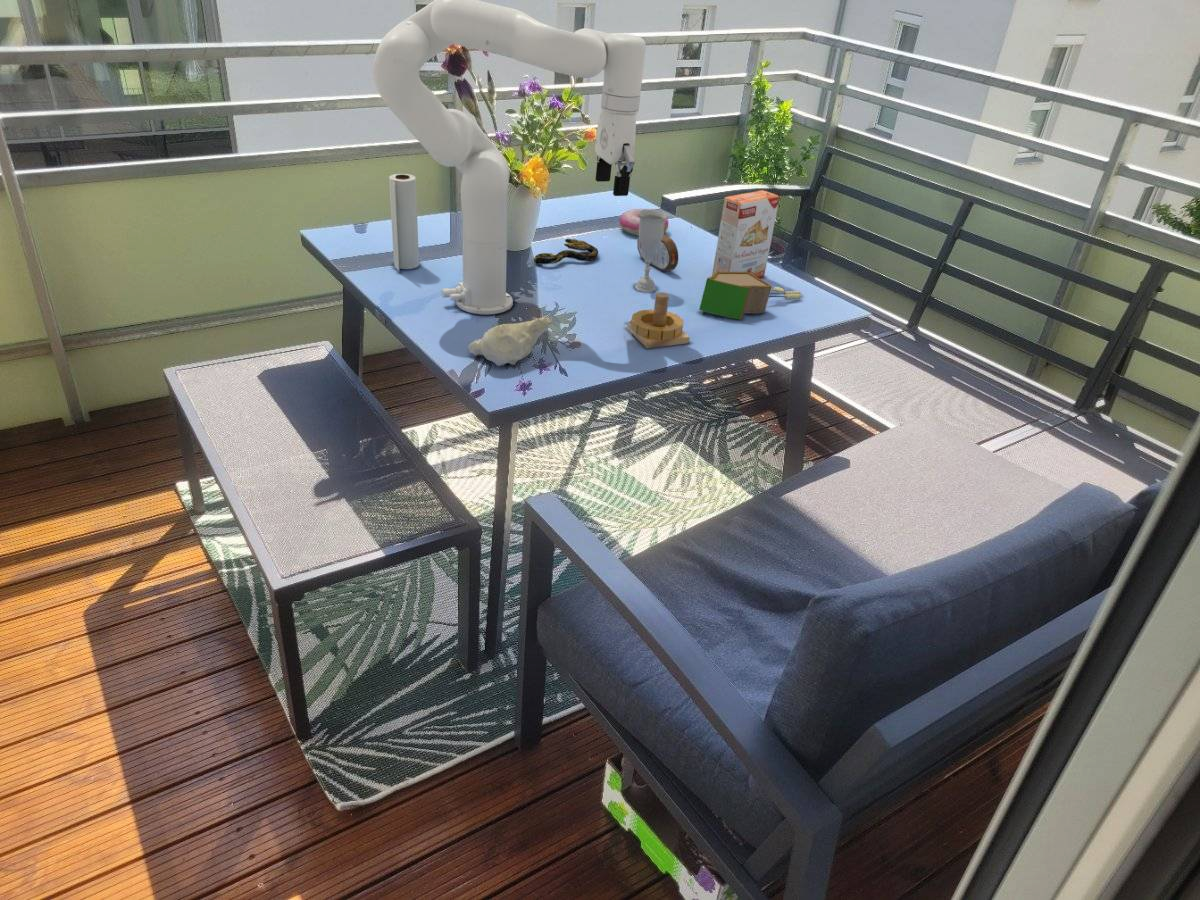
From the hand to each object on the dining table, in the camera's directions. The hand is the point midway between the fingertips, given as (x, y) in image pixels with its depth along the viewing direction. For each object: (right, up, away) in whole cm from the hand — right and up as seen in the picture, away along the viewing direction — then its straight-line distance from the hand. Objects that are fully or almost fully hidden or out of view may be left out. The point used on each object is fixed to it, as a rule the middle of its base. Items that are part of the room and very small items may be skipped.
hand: (611, 188), depth 190 cm
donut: (+10, +6, +62) cm, 63 cm away
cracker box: (+32, -12, +37) cm, 51 cm away
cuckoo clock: (+33, -21, +23) cm, 46 cm away
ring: (+10, -29, +5) cm, 31 cm away
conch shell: (-20, -36, -7) cm, 42 cm away
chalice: (+8, -16, +28) cm, 33 cm away
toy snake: (-11, -7, +40) cm, 42 cm away
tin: (+12, -8, +41) cm, 43 cm away
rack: (+10, -30, +5) cm, 32 cm away
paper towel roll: (-49, -11, +28) cm, 58 cm away
